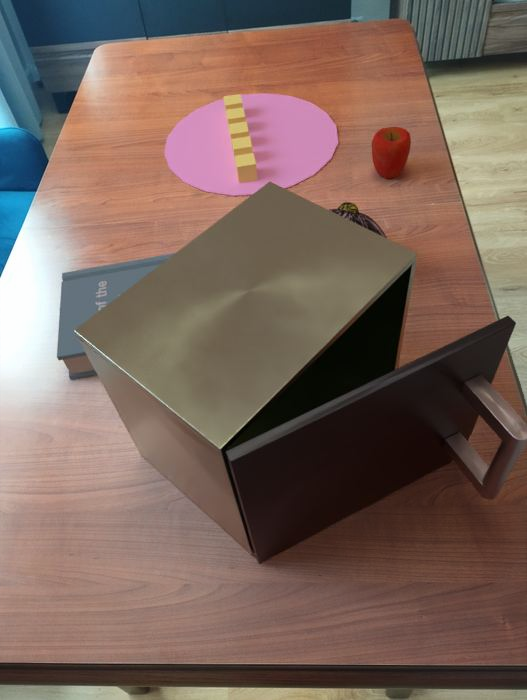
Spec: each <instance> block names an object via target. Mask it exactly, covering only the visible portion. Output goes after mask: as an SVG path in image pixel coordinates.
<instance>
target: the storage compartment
mask: <svg viewBox="0 0 527 700" xmlns="http://www.w3.org/2000/svg"><path fill="white" fill-rule="evenodd" d="M417 261H418V252H416V251H414V250H412V249H409V248H407V247H405V246H403V245H401V244H400V243H397V242H396V241H393V240H391V239H389V238H388V237H387V238H385V237H383V236H381V235H379V234H377V233H375V232H373V231H371V230H368V229H366V228H364V227H362V226H360V225H358V224H356V223H354V222H352V221H350V220H348V219H346V218H344V217H342V216H340V215H338V214H336V213H334V212H332V211H330V209H328V208H325V207H323V206H321V205H319V204H318V203H315V202H313V201H311V200H309V199H307V198H305V197H303V196H301V195H299V194H297V193H294V192H293V191H291V190H288V189H287V188H286V189H284V188H282V187H280V186H278V185H276V184H274V183H272V182H268V183H267V184H266V185H264V186H263V187H262V188H260V189H259V190H258V191H256V192H255V193H254V194H253V195H249V196H248V197H247V198H246V199H244V200H243V201H241V203H239V204H238V205H237V206H235V207H234V208H233V209H231V210H230V211H229V212H228V213H226V214H224V216H222V217H221V218H219V219H218V220H217V221H216V222H214V223H213V224H212V225H211V226H209V227H208V228H207V229H205V230H203V231H202V232H200V234H199V235H197V236H196V237H194V238H193V239H192V240H191V241H189V242H188V243H187V244H186V245H184V246H183V247H181V248H180V249H178V251H176V252H175V254H174V255H172V256H171V257H170V258H168V259H167V260H166V261H164V262H163V263H162V264H161V265H159V266H158V267H157V268H155V269H154V270H153V271H151V272H150V273H149V274H147V275H146V276H145V277H143V278H142V279H141V280H139V281H138V282H137V283H136V284H134V285H133V286H132V287H130V288H129V289H128V290H126V291H125V292H124V293H122V294H121V295H120V296H118V297H117V298H116V299H114V300H113V301H112V302H111V303H109V304H108V305H107V306H105V307H104V308H103V309H101V310H100V311H99V312H97V313H96V314H95V315H93V316H92V317H91V318H90V319H88V320H87V321H86V322H84V323H83V324H82V325H80V326H79V327H78V328H76V329H75V330H74V332H75V334H76V336H77V338H78V339H79V341H80V343H81V345H82V347H83V349H84V351H85V352H86V354H87V356H88V358H89V360H90V362H91V364H92V365H93V367H94V369H95V371H96V373H97V375H96V376H97V377H98V378H99V380H100V382H101V384H102V386H103V388H104V390H105V392H106V393H107V395H108V397H109V399H110V400H111V403H112V404H113V406H114V408H115V410H116V412H117V414H118V416H119V417H120V420H121V421H122V423H123V425H124V427H125V429H126V430H127V433H128V435H129V437H130V438H131V440H132V442H133V444H134V445H135V447H136V449H137V451H138V453H139V454H140V457H141V458H142V459H143V460H145V462H147V464H149V465H150V466H151V467H152V468H153V469H155V470H156V471H157V472H158V473H159V474H160V475H161V476H163V477H164V478H165V479H166V480H167V481H168V482H169V483H170V484H171V485H173V486H174V487H175V489H177V490H178V491H179V492H180V493H181V494H182V495H183V496H185V497H186V498H187V499H188V500H189V501H190V502H191V503H193V505H195V506H196V507H197V508H198V509H199V510H201V512H203V514H205V515H206V516H207V517H208V518H209V519H210V520H212V522H214V524H216V525H217V526H218V527H219V528H221V530H223V531H224V532H225V534H227V535H228V536H229V537H230V538H232V539H233V540H234V541H235V542H236V543H237V544H238V545H239V546H240V547H242V548H243V550H245V551H246V552H247V553H248V554H249V555H250V556H253V555H255V553H254V550H253V546H252V543H251V539H250V536H249V532H248V529H247V525H246V522H245V518H244V515H243V511H242V508H241V504H240V501H239V497H238V494H237V490H236V487H235V483H234V480H233V476H232V473H231V470H230V466H229V463H228V459H227V456H226V451H227V450H229V449H231V448H234V447H236V446H238V445H240V444H242V443H244V442H246V441H248V440H250V439H252V438H254V437H256V436H258V435H261V434H263V433H265V432H267V431H269V430H271V429H273V428H275V427H277V426H279V425H281V424H283V423H285V422H288V421H290V420H292V419H294V418H296V417H298V416H300V415H302V414H304V413H306V412H308V411H310V410H313V409H315V408H317V407H319V406H321V405H323V404H325V403H327V402H329V401H331V400H333V399H335V398H337V397H340V396H342V395H344V394H346V393H348V392H350V391H352V390H354V389H356V388H358V387H360V386H362V385H365V384H367V383H369V382H371V381H373V380H375V379H377V378H379V377H381V376H383V375H385V374H387V373H389V372H392V371H394V370H396V369H398V368H399V365H400V361H401V353H402V348H403V342H404V336H405V330H406V324H407V319H408V313H409V307H410V302H411V296H412V290H413V284H414V279H415V273H416V267H417Z"/></svg>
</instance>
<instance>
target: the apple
mask: <svg viewBox="0 0 527 700" xmlns="http://www.w3.org/2000/svg"><path fill="white" fill-rule="evenodd" d="M411 145H412V139H411V133H410V132H409V130H407V129H405V128H403V127H400V126H388V127H382V128H380V129H379V130H378V131H376V132H375V134H374V135H373V138H372V140H371V158H372V163H373V167H374V169H375V171H376V172H377V174H378V175H379V176H380V177H381V178H384V179H394V178H397V177H398V176H400V175H401V174H402V172H403V170H404V169H405V167H406V165H407V163H408V159H409V156H410V151H411Z"/></svg>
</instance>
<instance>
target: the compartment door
mask: <svg viewBox="0 0 527 700" xmlns="http://www.w3.org/2000/svg"><path fill="white" fill-rule="evenodd" d="M516 326H517V322H516V321H515V320H514V319H512V317H511V316H510V315H505V316H503V317H502V318H500V319H498V320H495V321H494V322H492V323H489V324H487V325H485V326H483V327H481V328H479V329H477V330H475V331H473V332H471V333H468V334H467V335H465V336H462V337H460V338H458V339H455V340H454V341H452V342H450V343H447V344H446V345H444V346H441V347H439V348H438V349H435V350H433V351H432V352H429V353H427V354H425V355H423V356H421V357H419V358H416V359H414V360H413V361H411V362H408V363H406V364H404V365H402V366H400V367H398V369H396V370H394V371H392V372H389V373H387V374H385V375H383V376H381V377H379V378H377V379H375V380H373V381H371V382H369V383H367V384H365V385H362V386H360V387H358V388H356V389H354V390H352V391H350V392H348V393H346V394H344V395H342V396H340V397H337V398H335V399H333V400H331V401H329V402H327V403H325V404H323V405H321V406H319V407H317V408H315V409H313V410H310V411H308V412H306V413H304V414H302V415H300V416H298V417H296V418H294V419H292V420H290V421H288V422H285V423H283V424H281V425H279V426H277V427H275V428H273V429H271V430H269V431H267V432H265V433H263V434H261V435H258V436H256V437H254V438H252V439H250V440H248V441H246V442H244V443H242V444H240V445H238V446H236V447H234V448H231V449H229V450H227V451H226V456H227V459H228V463H229V466H230V470H231V473H232V476H233V480H234V483H235V487H236V490H237V494H238V497H239V501H240V504H241V508H242V511H243V515H244V518H245V522H246V525H247V529H248V532H249V536H250V539H251V543H252V546H253V550H254V556H255V559H256V560H257V561H256V562H257V563H258V565H261V564H263V563H265V562H266V561H268V560H270V559H272V558H274V557H276V556H277V555H279V554H282V553H284V552H285V551H287V550H289V549H291V548H293V547H294V546H296V545H298V544H300V543H303V542H304V541H305V540H308V539H309V538H312V537H313V536H315V535H317V534H319V533H320V532H323V531H325V530H326V529H328V528H330V527H332V526H334V525H336V524H337V523H340V522H342V521H343V520H346V519H348V518H349V517H351V516H353V515H354V514H356V513H358V512H361V511H362V510H364V509H366V508H368V507H370V506H371V505H373V504H375V503H377V502H379V501H381V500H383V499H384V498H386V497H388V496H391V495H392V494H394V493H395V492H398V491H399V490H401V489H404V488H405V487H407V486H409V485H411V484H413V483H415V482H416V481H418V480H420V479H422V478H424V477H426V476H427V475H430V474H431V473H433V472H435V471H437V470H440V469H441V468H442V467H444V466H446V465H449V464H450V463H452V462H453V463H454V464H455V465H456V466H457V468H458V469H459V470H460V471H461V473H462V474H463V475H464V476H465V478H466V479H467V481H468V482H469V483H470V484H471V485H472V487H473V488H474V489H475V490H476V492H477V493H478V494H479V496H480V497H482V499H484V500H487V501H491V500H494V499H496V498H497V496H498V495H499V493H500V491H501V489H502V488H503V486H504V485H505V482H506V481H507V479H508V477H509V475H510V474H511V472H512V470H513V469H514V467H515V465H516V464H517V462H518V460H519V458H520V456H521V454H522V453H523V451H524V450H525V447H526V446H527V422H526V421H525V420H524V418H522V417H521V416H520V415H519V413H518V412H517V411H516V410H515V409H514V408H513V407H512V406H511V405H510V404H509V403H508V402H507V400H505V398H504V397H503V396H502V395H501V394H500V393H499V392H498V390H496V389H495V387H494V386H493V381H494V379H495V377H496V374H497V371H498V369H499V367H500V364H501V362H502V359H503V357H504V354H505V352H506V349H507V347H508V344H509V342H510V339H511V337H512V335H513V333H514V330H515V327H516ZM479 416H480V417H481V419H482V420H483V421H484V422H485V423H486V424H487V425H488V427H489V428H490V429H491V430H492V431H493V432H494V433H495V434H496V436H497V437H498V438H499V439H500V440H501V441H500V444H499V446H498V447H497V449H496V452H495V453H494V456H493V457H492V459H491V461H490V463H489V465H488V464H487V463H486V462H485V460H484V459H483V458H482V457H481V455H480V454H479V453H478V451H476V449H475V448H474V447H473V446H472V445H471V444H470V443H469V441H470V439H471V436H472V434H473V431H474V430H475V426H476V424H477V421H478V419H479Z"/></svg>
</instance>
